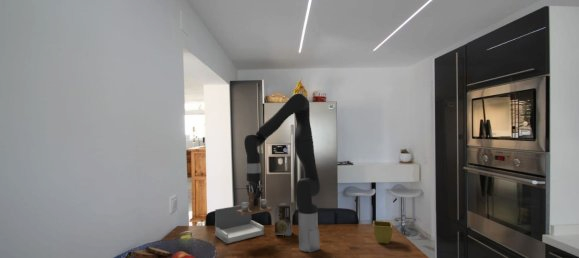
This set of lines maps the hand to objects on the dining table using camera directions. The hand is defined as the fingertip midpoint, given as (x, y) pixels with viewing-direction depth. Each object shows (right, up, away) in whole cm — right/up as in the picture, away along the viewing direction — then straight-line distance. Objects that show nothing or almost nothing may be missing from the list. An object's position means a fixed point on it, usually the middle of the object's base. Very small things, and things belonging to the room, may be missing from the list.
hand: (254, 205), depth 135 cm
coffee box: (+15, -19, +9) cm, 26 cm away
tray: (0, -3, 0) cm, 3 cm away
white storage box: (-9, -19, +9) cm, 23 cm away
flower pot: (+66, -18, -4) cm, 68 cm away
